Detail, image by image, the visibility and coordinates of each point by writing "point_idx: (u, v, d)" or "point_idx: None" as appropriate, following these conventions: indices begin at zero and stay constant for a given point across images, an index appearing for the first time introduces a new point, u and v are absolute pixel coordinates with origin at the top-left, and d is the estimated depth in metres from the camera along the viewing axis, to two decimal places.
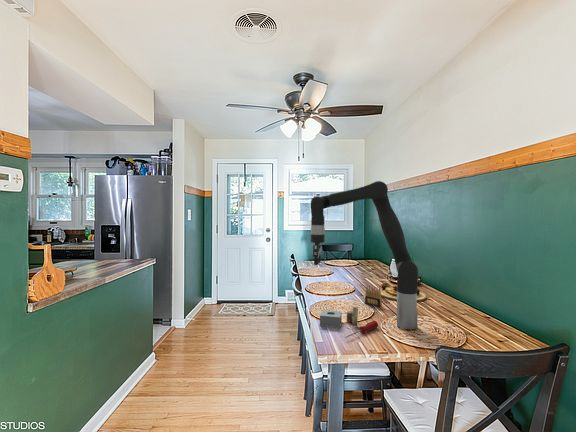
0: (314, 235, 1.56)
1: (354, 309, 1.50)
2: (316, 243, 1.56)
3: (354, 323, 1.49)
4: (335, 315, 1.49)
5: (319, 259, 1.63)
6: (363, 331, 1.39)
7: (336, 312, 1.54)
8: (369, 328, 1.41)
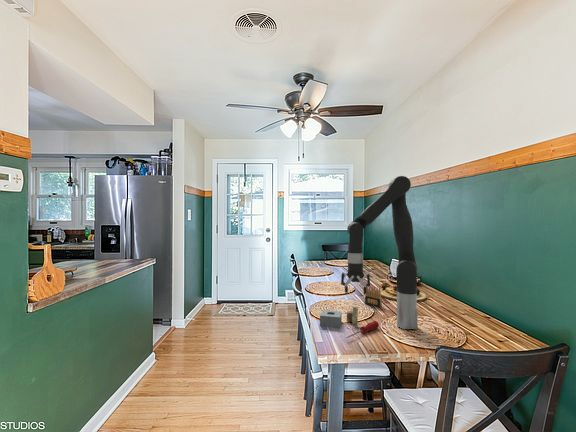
0: (362, 264, 1.49)
1: (354, 309, 1.50)
2: None
3: (354, 323, 1.49)
4: (335, 315, 1.49)
5: (347, 289, 1.52)
6: (364, 331, 1.39)
7: (336, 312, 1.54)
8: (370, 328, 1.41)
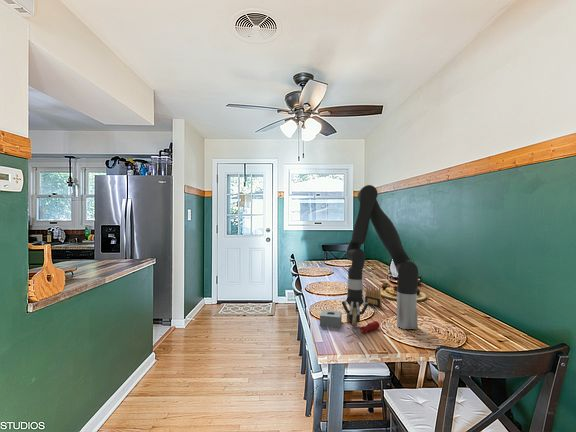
0: (362, 290, 1.49)
1: (354, 309, 1.50)
2: (362, 297, 1.50)
3: (354, 323, 1.49)
4: (335, 315, 1.49)
5: None
6: (364, 331, 1.39)
7: (336, 312, 1.54)
8: (370, 328, 1.41)
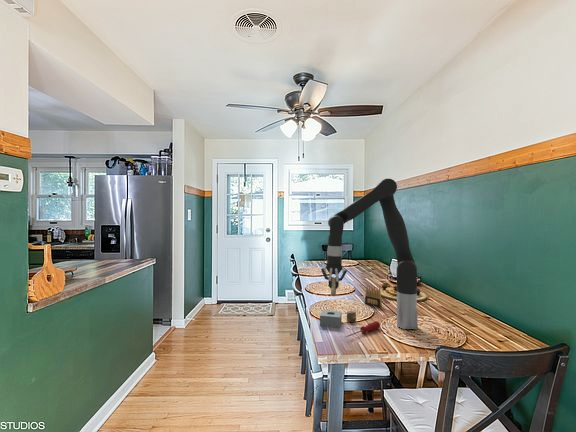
0: (341, 257, 1.51)
1: (333, 279, 1.52)
2: (341, 264, 1.52)
3: (332, 293, 1.52)
4: (335, 315, 1.49)
5: None
6: (364, 331, 1.39)
7: (336, 312, 1.54)
8: (370, 328, 1.41)
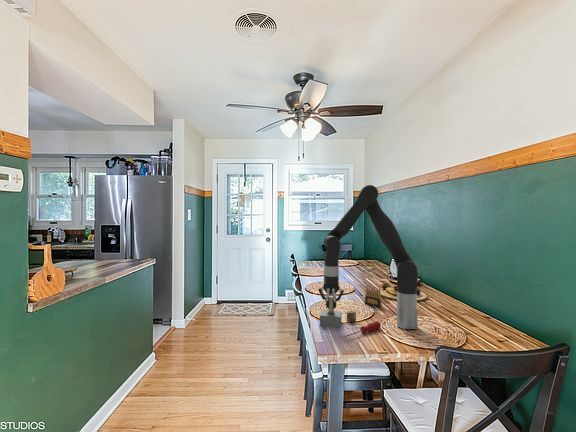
0: (338, 277, 1.51)
1: (330, 299, 1.52)
2: (338, 284, 1.52)
3: (330, 313, 1.52)
4: (335, 315, 1.49)
5: (328, 304, 1.54)
6: (364, 331, 1.39)
7: (336, 312, 1.54)
8: (370, 328, 1.41)
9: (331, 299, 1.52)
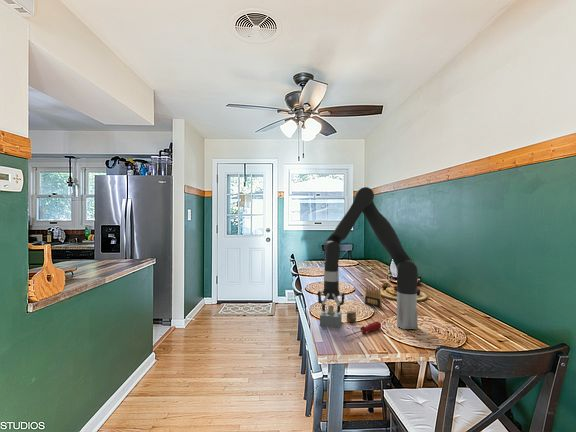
0: (338, 282, 1.51)
1: (330, 307, 1.52)
2: (338, 289, 1.52)
3: None
4: (335, 315, 1.49)
5: None
6: (364, 331, 1.38)
7: (336, 312, 1.54)
8: (371, 329, 1.41)
9: (331, 307, 1.52)
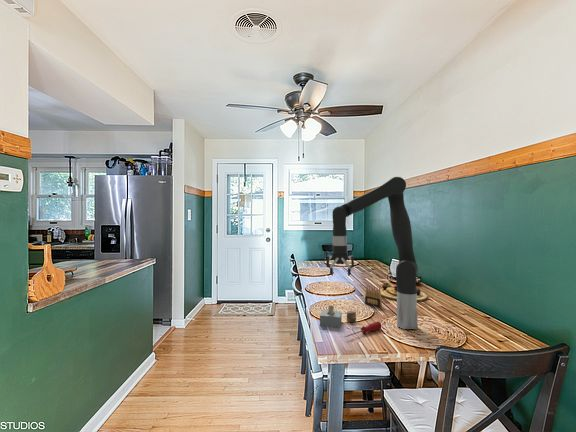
0: (346, 246, 1.54)
1: (330, 307, 1.52)
2: None
3: None
4: (335, 315, 1.49)
5: (332, 271, 1.57)
6: (364, 331, 1.38)
7: (336, 312, 1.54)
8: (371, 329, 1.41)
9: (331, 307, 1.52)
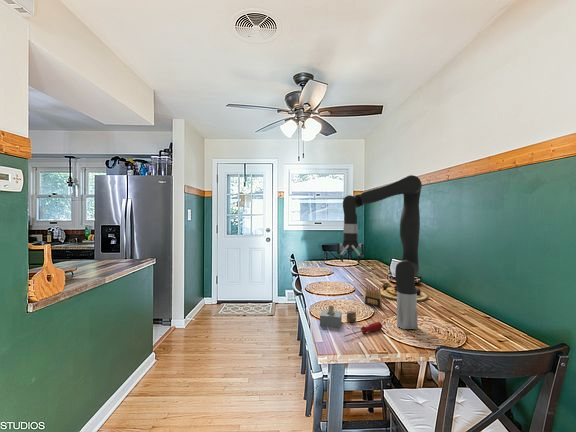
0: (357, 234, 1.59)
1: (330, 308, 1.52)
2: (357, 241, 1.60)
3: None
4: (335, 315, 1.49)
5: None
6: (364, 331, 1.38)
7: (336, 312, 1.54)
8: (371, 329, 1.40)
9: (331, 307, 1.51)
